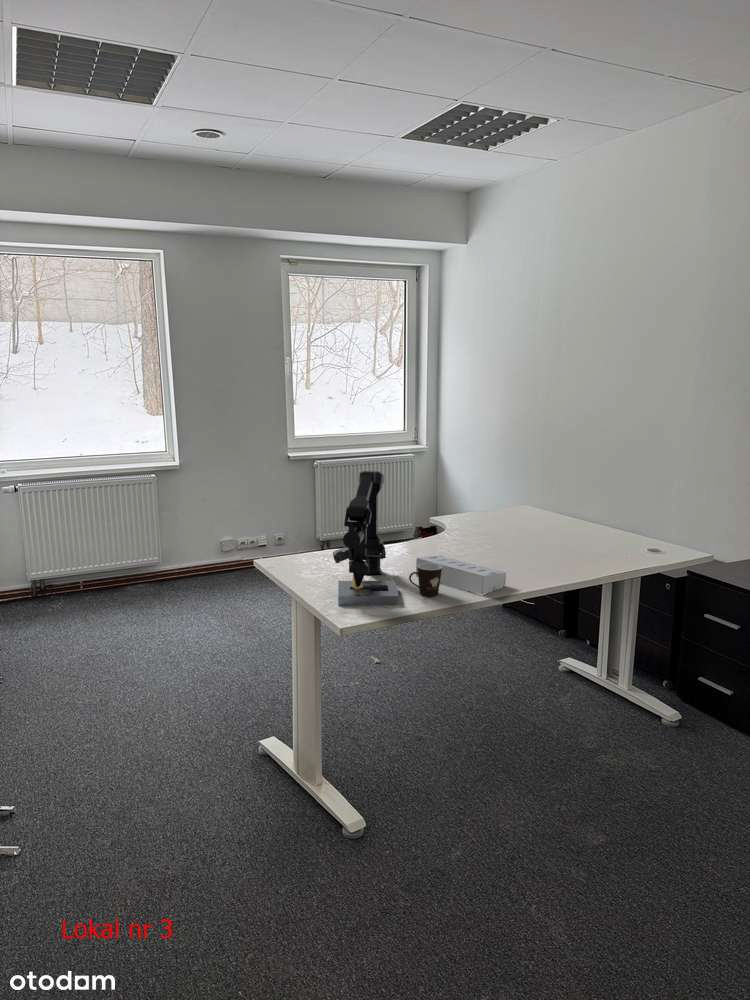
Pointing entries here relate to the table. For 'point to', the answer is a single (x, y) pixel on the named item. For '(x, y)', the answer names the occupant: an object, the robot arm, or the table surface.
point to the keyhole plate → (368, 593)
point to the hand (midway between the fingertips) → (357, 584)
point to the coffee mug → (428, 578)
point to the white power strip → (466, 574)
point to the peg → (355, 584)
